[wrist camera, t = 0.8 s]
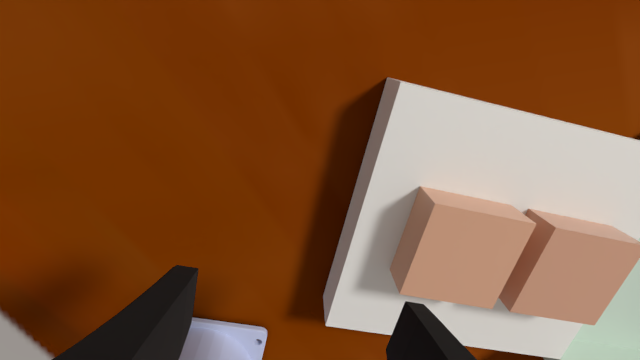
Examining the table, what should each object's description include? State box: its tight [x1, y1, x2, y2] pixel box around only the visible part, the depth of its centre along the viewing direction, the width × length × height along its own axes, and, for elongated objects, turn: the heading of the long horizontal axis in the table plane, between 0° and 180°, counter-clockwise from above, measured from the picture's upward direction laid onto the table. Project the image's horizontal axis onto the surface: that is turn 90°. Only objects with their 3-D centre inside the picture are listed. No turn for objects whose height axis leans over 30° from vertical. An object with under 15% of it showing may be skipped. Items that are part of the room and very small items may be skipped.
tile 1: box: [498, 209, 640, 325], centre depth 17 cm, size 5×5×2 cm
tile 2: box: [390, 186, 536, 309], centre depth 17 cm, size 5×5×2 cm
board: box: [323, 77, 640, 359], centre depth 19 cm, size 14×16×2 cm
